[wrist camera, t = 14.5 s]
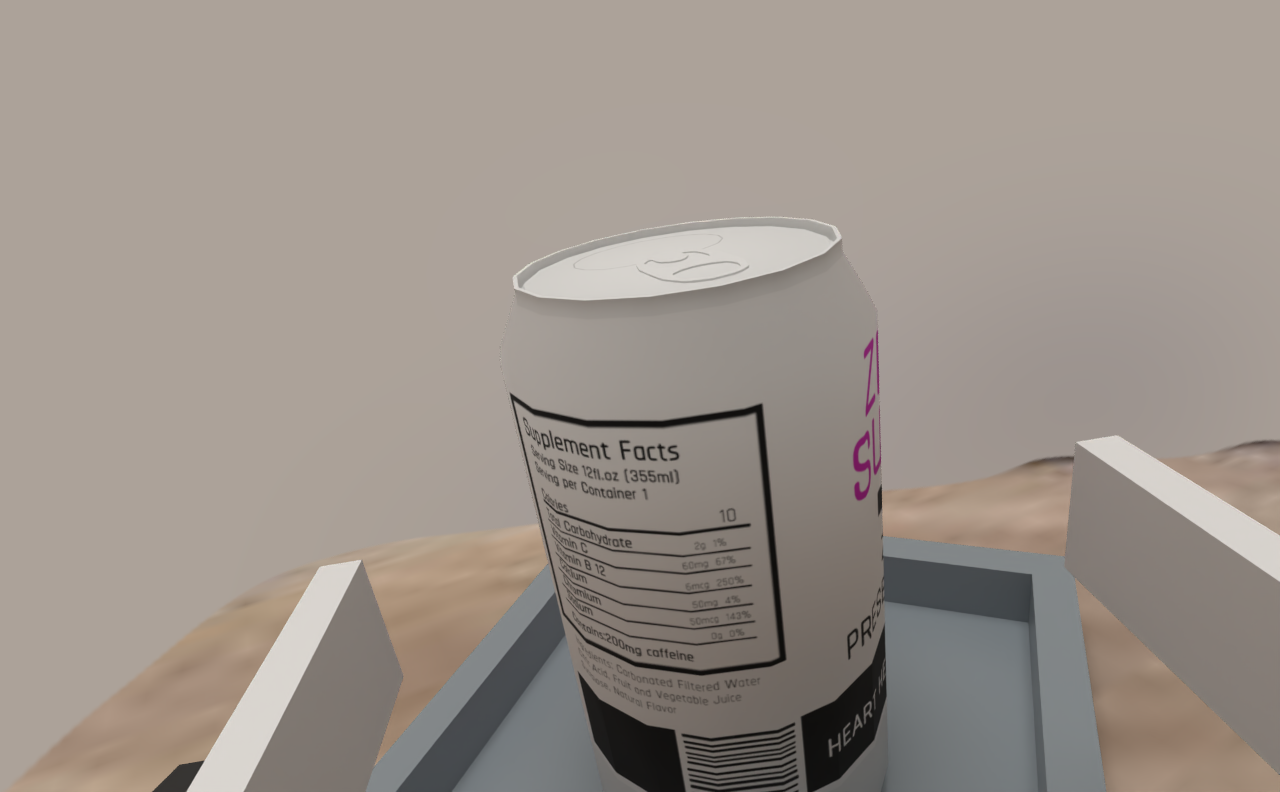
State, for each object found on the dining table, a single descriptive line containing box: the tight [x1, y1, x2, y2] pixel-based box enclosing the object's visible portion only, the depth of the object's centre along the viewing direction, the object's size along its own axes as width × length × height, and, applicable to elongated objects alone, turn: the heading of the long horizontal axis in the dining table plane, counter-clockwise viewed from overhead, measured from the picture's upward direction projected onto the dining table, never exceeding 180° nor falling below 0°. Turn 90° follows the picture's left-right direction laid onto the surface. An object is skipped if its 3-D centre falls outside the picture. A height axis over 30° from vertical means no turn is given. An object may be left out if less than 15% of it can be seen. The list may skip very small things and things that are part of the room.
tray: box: [365, 536, 1106, 792], centre depth 21 cm, size 18×18×3 cm
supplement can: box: [500, 217, 888, 792], centre depth 18 cm, size 8×8×15 cm
